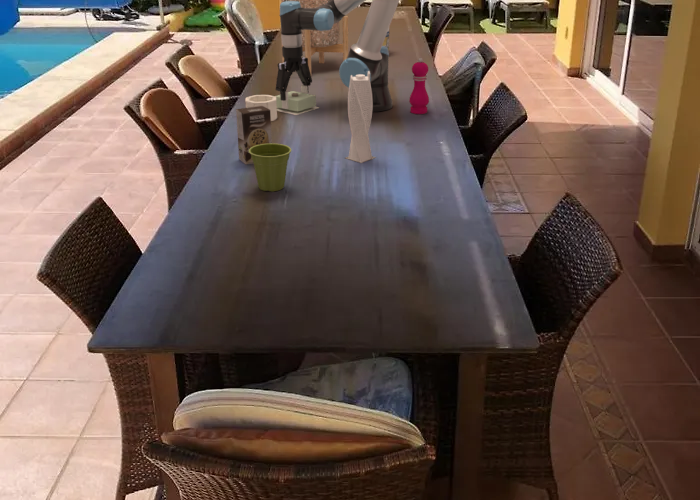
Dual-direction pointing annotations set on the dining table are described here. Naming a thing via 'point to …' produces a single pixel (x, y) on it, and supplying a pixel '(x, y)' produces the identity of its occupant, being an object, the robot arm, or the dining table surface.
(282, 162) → the plant pot
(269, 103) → the bowl
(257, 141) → the coffee box
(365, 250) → the dining table surface
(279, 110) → the mat
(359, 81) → the skyscraper
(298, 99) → the lid
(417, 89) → the pepper mill
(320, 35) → the planter
